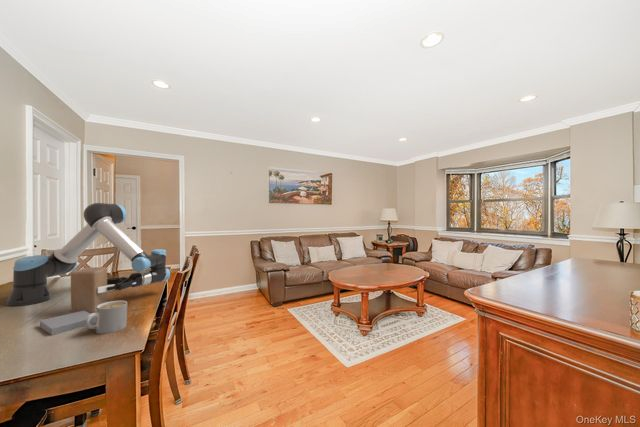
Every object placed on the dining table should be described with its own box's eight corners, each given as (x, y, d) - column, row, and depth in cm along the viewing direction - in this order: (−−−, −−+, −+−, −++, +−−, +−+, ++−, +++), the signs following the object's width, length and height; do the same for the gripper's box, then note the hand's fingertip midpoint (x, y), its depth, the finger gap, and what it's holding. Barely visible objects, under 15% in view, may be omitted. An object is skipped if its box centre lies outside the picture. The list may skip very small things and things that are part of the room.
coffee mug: (123, 321, 112) (124, 298, 112) (128, 328, 105) (130, 304, 105) (82, 331, 101) (83, 306, 102) (85, 339, 95) (86, 313, 95)
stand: (39, 326, 104) (39, 320, 104) (83, 315, 116) (83, 310, 116) (51, 335, 97) (52, 328, 97) (97, 322, 109) (97, 316, 109)
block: (95, 313, 117) (94, 271, 117) (69, 315, 115) (69, 272, 115) (108, 305, 127) (108, 266, 126) (85, 306, 125) (84, 267, 124)
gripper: (151, 289, 134) (102, 300, 115) (128, 282, 146) (80, 291, 127) (152, 275, 134) (103, 284, 116) (128, 269, 146) (81, 276, 127)
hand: (91, 287), depth 121 cm, fingers closed on block, 13 cm apart
